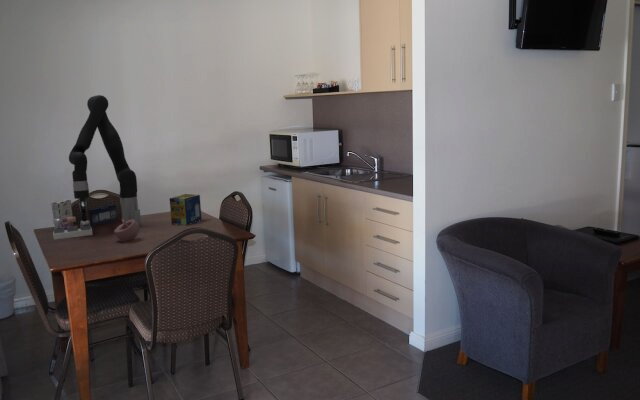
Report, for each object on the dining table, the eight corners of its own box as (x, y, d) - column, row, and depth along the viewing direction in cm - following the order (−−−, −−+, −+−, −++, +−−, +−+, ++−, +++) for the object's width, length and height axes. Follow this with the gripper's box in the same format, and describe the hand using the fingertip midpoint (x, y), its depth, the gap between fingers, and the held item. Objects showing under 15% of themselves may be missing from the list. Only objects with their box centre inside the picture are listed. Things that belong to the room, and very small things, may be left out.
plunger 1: (63, 225, 298) (62, 217, 298) (63, 227, 294) (62, 219, 294) (54, 226, 297) (53, 218, 296) (54, 228, 293) (53, 220, 292)
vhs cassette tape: (92, 226, 323) (90, 209, 322) (89, 226, 325) (87, 209, 323) (118, 220, 338) (116, 204, 337) (115, 220, 340) (113, 204, 338)
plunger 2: (89, 227, 304) (88, 219, 303) (90, 229, 300) (89, 221, 299) (81, 228, 302) (80, 220, 302) (81, 230, 298) (80, 222, 298)
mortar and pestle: (112, 240, 283) (109, 218, 282) (135, 236, 291) (133, 215, 289) (119, 244, 274) (117, 222, 272) (143, 240, 281) (141, 218, 279)
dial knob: (76, 224, 301) (75, 215, 300) (76, 225, 297) (75, 217, 296) (67, 225, 299) (66, 216, 298) (67, 226, 295) (66, 218, 295)
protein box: (171, 225, 318) (168, 198, 315) (187, 219, 332) (185, 193, 329) (186, 225, 314) (184, 198, 311) (202, 220, 328) (200, 194, 325)
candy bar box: (67, 227, 325) (63, 199, 322) (74, 227, 324) (71, 199, 321) (54, 231, 314) (50, 202, 311) (62, 231, 313) (58, 202, 310)
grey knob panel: (91, 232, 306) (90, 223, 305) (92, 234, 300) (91, 225, 299) (53, 237, 298) (52, 228, 298) (53, 239, 292) (52, 230, 291)
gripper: (89, 189, 293) (92, 222, 296) (88, 187, 305) (91, 218, 308) (73, 191, 290) (77, 223, 293) (73, 188, 302) (76, 219, 305)
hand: (84, 220), depth 301 cm, fingers closed
